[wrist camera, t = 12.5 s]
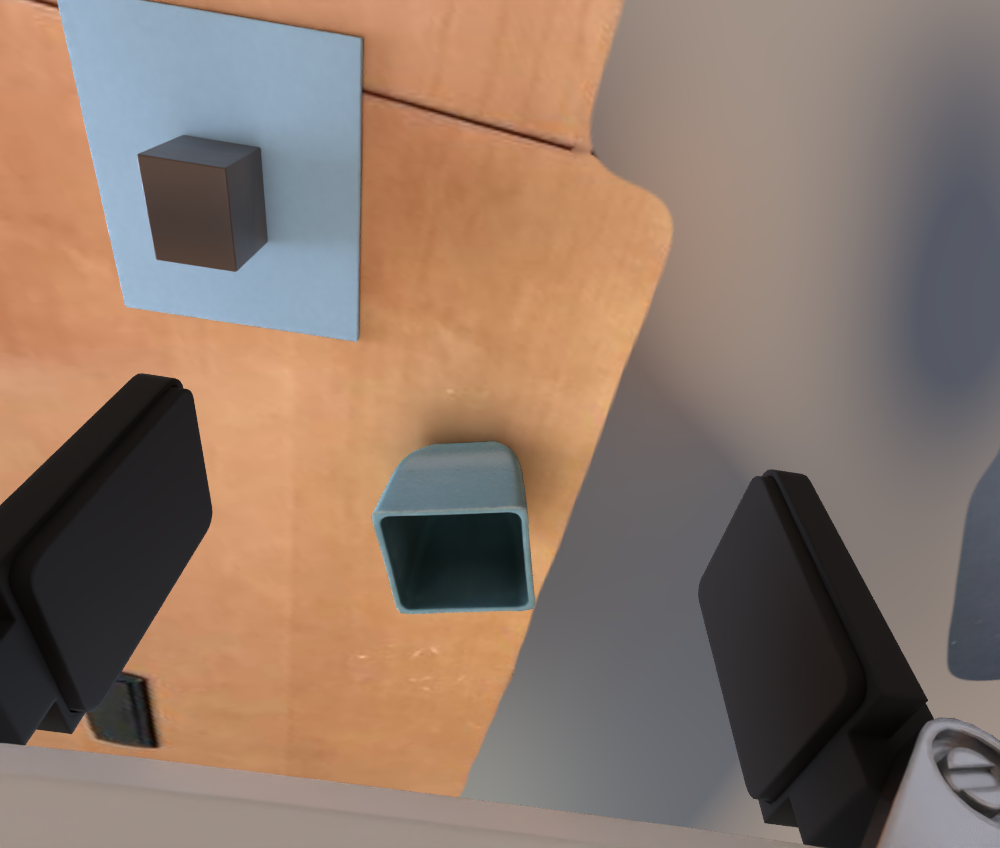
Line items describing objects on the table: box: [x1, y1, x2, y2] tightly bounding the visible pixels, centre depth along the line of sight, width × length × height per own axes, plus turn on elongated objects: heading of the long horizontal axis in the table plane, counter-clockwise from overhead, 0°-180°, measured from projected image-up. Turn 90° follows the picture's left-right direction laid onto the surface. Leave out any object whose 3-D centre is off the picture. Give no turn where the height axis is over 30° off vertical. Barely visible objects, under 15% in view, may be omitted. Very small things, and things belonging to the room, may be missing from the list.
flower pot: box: [372, 441, 535, 614], centre depth 40 cm, size 9×9×9 cm
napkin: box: [57, 0, 363, 342], centre depth 33 cm, size 16×14×1 cm
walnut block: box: [137, 135, 268, 272], centre depth 31 cm, size 5×4×4 cm
